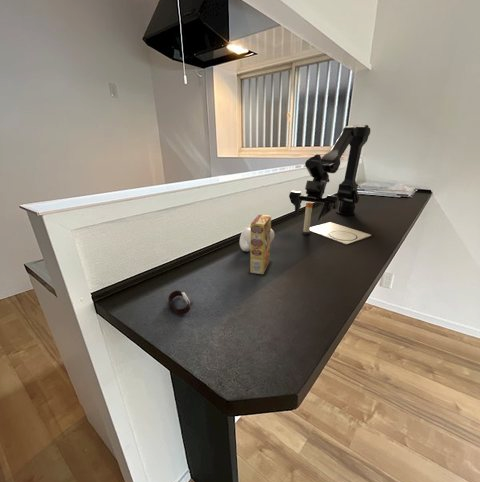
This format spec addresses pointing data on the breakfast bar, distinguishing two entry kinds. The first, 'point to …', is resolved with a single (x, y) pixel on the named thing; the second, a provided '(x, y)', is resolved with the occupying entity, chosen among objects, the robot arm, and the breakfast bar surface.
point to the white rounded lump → (249, 238)
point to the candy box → (260, 243)
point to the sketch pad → (339, 233)
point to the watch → (179, 293)
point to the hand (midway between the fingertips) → (306, 218)
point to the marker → (307, 218)
